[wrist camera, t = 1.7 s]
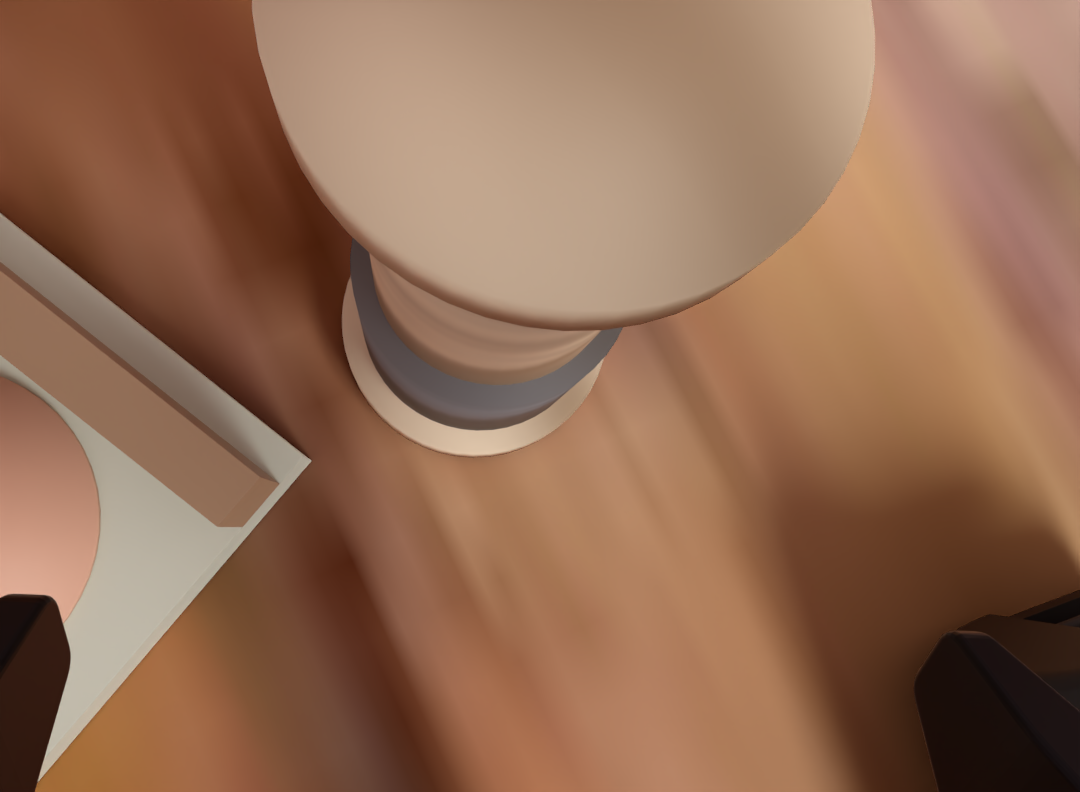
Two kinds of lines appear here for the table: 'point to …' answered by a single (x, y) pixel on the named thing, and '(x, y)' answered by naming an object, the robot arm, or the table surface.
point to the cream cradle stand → (114, 473)
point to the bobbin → (551, 179)
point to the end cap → (1042, 641)
